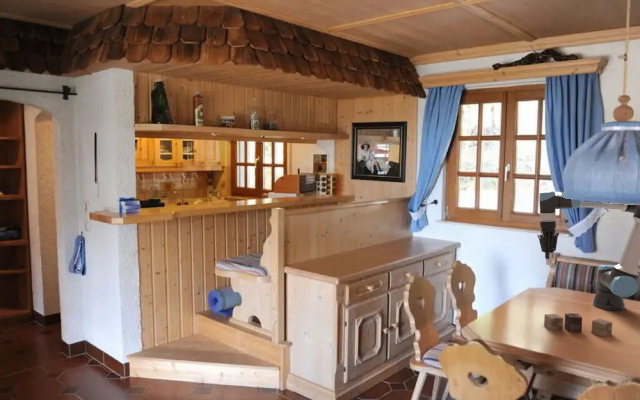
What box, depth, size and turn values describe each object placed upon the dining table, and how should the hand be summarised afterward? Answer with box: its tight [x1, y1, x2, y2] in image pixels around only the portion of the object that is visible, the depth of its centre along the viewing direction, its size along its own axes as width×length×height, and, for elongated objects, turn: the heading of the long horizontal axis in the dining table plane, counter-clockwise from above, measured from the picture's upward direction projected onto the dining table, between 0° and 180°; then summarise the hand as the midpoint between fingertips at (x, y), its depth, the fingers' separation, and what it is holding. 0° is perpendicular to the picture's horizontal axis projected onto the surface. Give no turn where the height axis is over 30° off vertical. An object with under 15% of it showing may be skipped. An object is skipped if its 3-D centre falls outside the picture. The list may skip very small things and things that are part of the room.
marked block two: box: [543, 313, 564, 331], centre depth 238 cm, size 6×6×6 cm
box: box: [564, 312, 583, 333], centre depth 235 cm, size 6×6×7 cm
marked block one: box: [591, 318, 613, 338], centre depth 231 cm, size 6×6×6 cm
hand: (549, 264), depth 261 cm, fingers closed
